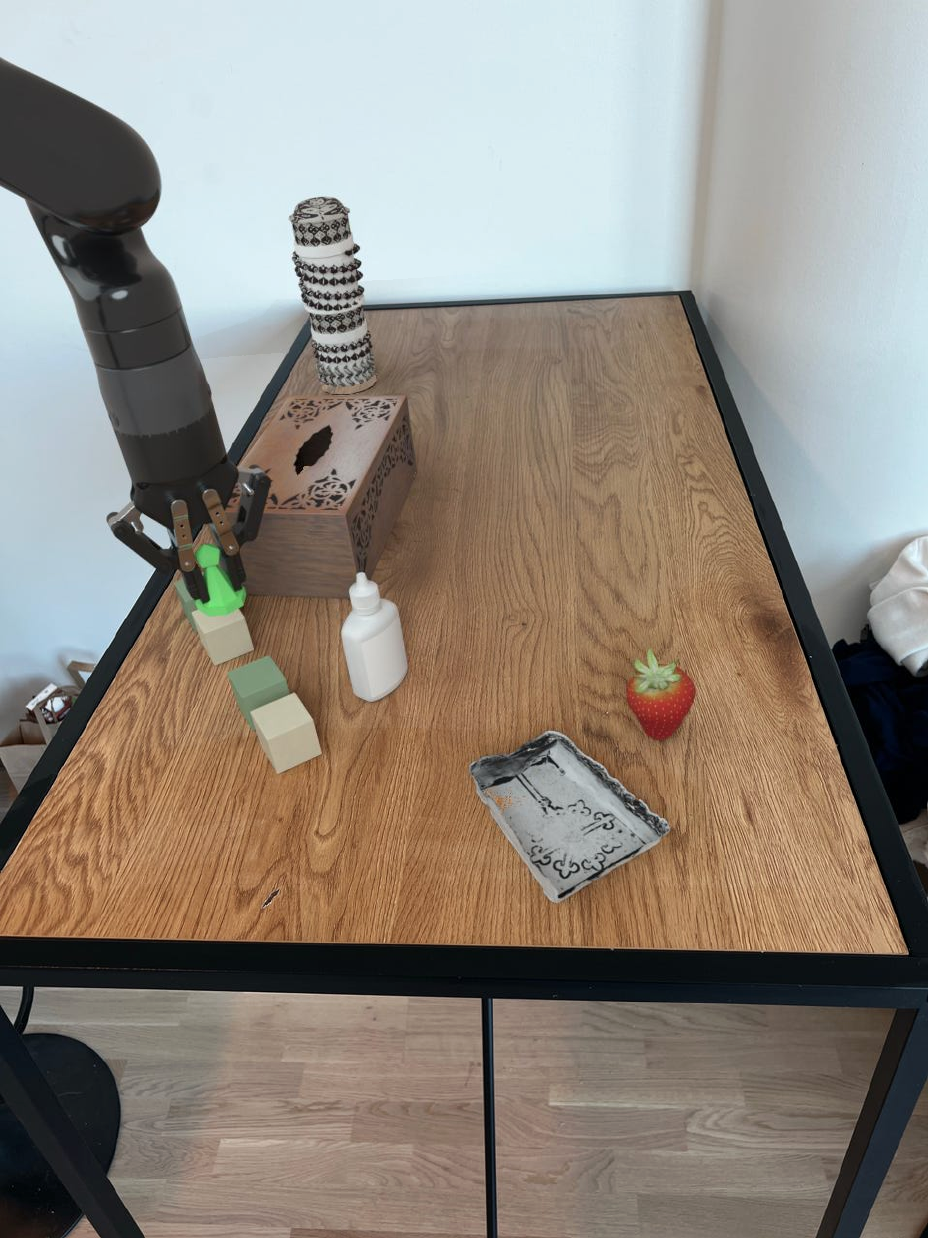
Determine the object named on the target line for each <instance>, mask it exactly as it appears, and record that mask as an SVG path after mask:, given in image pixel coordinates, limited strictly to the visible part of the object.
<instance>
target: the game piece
mask: <svg viewBox="0 0 928 1238" xmlns="http://www.w3.org/2000/svg"><path fill="white" fill-rule="evenodd" d="M221 556H222V554H221V552H220V550H219V549H218V547H217V546H216V545H215V544H214V543H213V542H212V543H205V544H202V545H199V546H197V548H196V550H195V553H194V557H195V561H196V562H197V564H198V566H199V567H200V568H202V569H203V571H204V574H203V578H204V582H205V585H206V588H207V591H208V594H209V597H210V601H209V602H208V603H205V604H202V603H201V601H200V599H198V600H196V606H197V609H198V610H199V611H201V612H202V613H204V614H205V615H207V616H208V617H211V616H222V615H229V614H230V613H232V612H234V611H235V610H237V609H239V610H240V608H242V607H243V606H245V601H246V597H247V595H246V591H245V588H244V587H243V586H242V585H241V586H242V590H239V591H236V592H235V591H234V589H233V587H232V584H231V582H230V579H229V577H228V575H227V574H226V573H225V572H224V571H223V570H222V569H221V567H220V564H219V561H220V559H221Z"/></svg>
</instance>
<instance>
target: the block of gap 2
mask: <svg viewBox="0 0 928 1238" xmlns="http://www.w3.org/2000/svg"><path fill="white" fill-rule="evenodd" d="M226 675H227V677H228V681H229V684H230V687H231V690H232V693H233V696H234V699H235V702H236V704H237V707H238V709H239V711H240V712H241V714H242V716H243V717H244V719H245V721H246V722H247V724H248V726H249V727H250V729H251V731H252V732H254V731H256V729H255V726H254V723H253V719H252V716H251V713H250V712H251V711H253V710H255V709H257V708H260V707H262V706H264V705H267V704H269V703H271V702H274V701H276V700H278V699H281V698H283V697H285V696H288V695H290V694H291V692H290V689H289V685H288V681H287V678H286V677H285V675H284V674H283V672H282V671H281V669H280V668H279V666H278V665H277V664H276V662H275V660H274V659H273V658H272V655H270V654H268V655H265V656H263V657H260V658H257V659H255V660H253V661H250V662H248V663H246V664H243V665H241V666H238V667H236V668H234V669H231V670H228V671H227V672H226Z"/></svg>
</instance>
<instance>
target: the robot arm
mask: <svg viewBox="0 0 928 1238" xmlns="http://www.w3.org/2000/svg"><path fill="white" fill-rule="evenodd" d="M162 183H163V182H162V175H161V170H160V167H159V163H158V161H157V158H156V156H155V154H154V152H153V150H152V148H151V147H150V146H149V144H148V142H146V140H145V139H144V138H143V136H142V135H141V134H140V133H139V132H138V131H137V130H136V129H135V128H133V127H132V126H131V125H130V124H128V123H127V122H126V121H125V120H123V119H122V118H120V117H119V116H117V115H115V114H114V113H112V112H110V111H108V110H106V109H105V108H103V107H101V106H99V105H98V104H96V103H93V102H91V101H90V100H88V99H86V98H84V97H82V96H80V95H78V94H76V93H74V92H73V91H70V90H68V89H66V88H64V87H62V86H60V85H58V84H56V83H54V82H52V81H50V80H47V79H45V78H43V76H42V77H41V76H39V75H37V74H35V73H34V72H31V71H29V70H27V69H25V68H22V67H21V66H18V65H16V64H14V63H12V62H11V61H8V60H6V59H4V58H3V57H1V56H0V187H1V188H3V189H5V190H6V191H8V192H10V193H12V194H14V195H16V196H18V197H20V198H21V199H23V200H24V201H25V204H26V206H27V209H28V212H29V213H30V215H31V217H32V220H33V222H34V225H35V226H36V229H37V230H38V232H39V235H40V237H41V239H42V241H43V243H44V245H45V246H46V249H47V251H48V253H49V255H50V256H51V259H52V260H53V263H54V264H55V266H56V268H57V270H58V272H59V273H60V275H61V278H62V280H63V281H64V283H65V285H66V287H67V288H68V291H69V293H70V295H71V297H72V301H73V303H74V307H75V311H76V315H77V318H78V322H79V325H80V327H81V330H82V333H83V337H84V339H85V342H86V345H87V347H88V350H89V353H90V356H91V359H92V361H93V366H94V369H95V373H96V377H97V384H98V388H99V392H100V395H101V399H102V401H103V404H104V406H105V410H106V411H107V415H108V418H109V420H110V424H111V427H112V429H113V432H114V436H115V437H116V438H115V439H116V441H117V444H118V447H119V449H120V452H121V455H122V457H123V460H124V463H125V466H126V469H127V473H128V475H129V477H130V481H131V488H130V492H129V498H130V501H129V502H128V503H127V504H126V505H125V506H124V507H123V508H122V509H121V510H120V511H119V512H118V511H112V512H109V513H108V514H107V515H106V523H107V524H108V527H109V529H110V531H111V532H112V535H113V536H114V537H115V538H116V539H117V540H119V541H120V542H122V544H123V545H125V546H126V547H127V548H129V550H131V551H132V552H134V553H135V554H136V555H138V556H139V557H141V558H142V560H144V561H145V562H146V563H148V564H149V565H150V566H151V567H153V568H154V569H155V570H157V571H158V572H159V573H162V574H167V573H170V572H171V571H172V570H178V571H180V575H181V577H182V578H181V579H183V581H184V584H185V587H186V589H187V591H188V593H189V594H190V596H191V597H192V598H193V599H194V600H195V601H196V600H198V599H200V601H201V603H202V604H205V603H208V602H209V601H210V597H209V594H208V591H207V588H206V585H205V582H204V578H203V575H202V572H203V571H202V569H201V566H200V565H199V563H198V562H197V561H196V559H195V557H194V554H195V553H194V548H193V546H194V540H193V536H192V535H193V534H192V531H193V530H194V529H196V528H198V527H199V526H204V525H207V524H210V526H211V528H212V531H213V533H214V535H215V537H216V540H217V541H218V543H219V546H218V549H219V550H220V552H221V554H222V556H221V559H220V560H221V563H222V566H223V569H224V572H225V573H226V574H227V575H228V577H229V579H230V582H231V584H232V587H233V589H234V591H235V592H236V591H239V590H242V586H241V583H243V582H245V581H246V573H245V570H244V567H243V563H242V559H241V556H240V548H241V546H242V545H243V544H244V543H246V542H247V541H248V542H251V541H254V540H255V539H256V538H257V535H258V531H259V528H260V524H261V520H262V516H263V512H264V508H265V505H266V501H267V497H268V493H269V489H270V485H271V479H270V478H269V477H268V475H267V474H266V473H265V472H264V471H263V470H262V469H261V468H260V467H259V466H258V465H256V464H254V465H251V466H250V467H249V468H242V467H237V465H236V464H235V463H234V462H233V461H232V459H231V458H229V456H228V453H227V449H226V446H225V442H224V439H223V435H222V432H221V428H220V424H219V420H218V417H217V413H216V409H215V405H214V402H213V398H212V388H211V386H210V384H209V382H208V380H207V377H206V372H205V370H204V367H203V364H202V362H201V359H200V357H199V355H198V353H197V351H196V348H195V345H194V342H193V340H192V336H191V331H190V328H189V326H188V322H187V318H186V315H185V311H184V308H183V305H182V300H181V297H180V294H179V290H178V287H177V285H176V281H175V280H174V278H173V275H172V274H171V272H170V271H169V269H168V268H167V266H166V265H165V264H164V263H163V262H162V261H161V260H159V258H158V257H157V256H156V254H154V253H153V251H152V250H151V248H150V246H149V244H148V242H147V240H146V237H145V234H144V232H143V229H142V228H143V227H144V226H145V225H146V224H147V223H148V222H149V221H150V220H151V219H152V217H154V215H155V213H156V212H157V209H158V207H159V205H160V202H161V198H162V197H161V196H162V191H163V189H162V188H163V185H162ZM237 481H238V488H239V489H240V491H241V492H242V493H241V497H240V501H239V505H238V510H237V514H236V518H235V522H234V525H233V526H231V525H230V523H229V520H228V518H227V516H226V513H225V510H226V508H227V505H228V503H229V500H230V498H231V495H232V493H233V490H234V488H235V485H236V483H237ZM142 514H143V515H144V516H146V517H147V518H149V519H150V520H153V521H154V522H156V523H158V524H159V525H161V526H162V527H164V528H166V532H167V535H168V537H169V542H170V547H171V548H163V546H160V545H159V544H158V543H157V542H156V541H154V540H153V539H152V538H151V537H150V536H148V535H147V534H146V533H145V532H144V530H145V526H144V524H143V522H142V521H141V515H142Z"/></svg>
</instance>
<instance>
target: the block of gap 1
mask: <svg viewBox="0 0 928 1238" xmlns="http://www.w3.org/2000/svg"><path fill="white" fill-rule="evenodd" d="M192 616H193V619H194V622H195V625H196V628H197V631H198V633H197V634H198V636H199V639H200V643H201V645H202V647H203V648H204V650H205V652H206V654H207V655H208V657H209V659H210V660H211V662H212V664H213V665H214V666H219V665H222V664H223V663H227V662H229V661H231V660H233V659H235V658H239V657H241V656H243V655H245V654H248V653H250V652H252V651H253V652H254V650H255V648H254V644H253V640H252V637H251V634H250V630H249V626H248V623H247V621H246V617H245V615H244V614H243V612H242V611H241V609H240V608H239V609H237V610H235V611H234V612H232V613H230V614H229V615H222V616H211V617H208V616H207V615H205V614H204V613H202V612H201V611H199V610H196V611H193V612H192Z"/></svg>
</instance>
